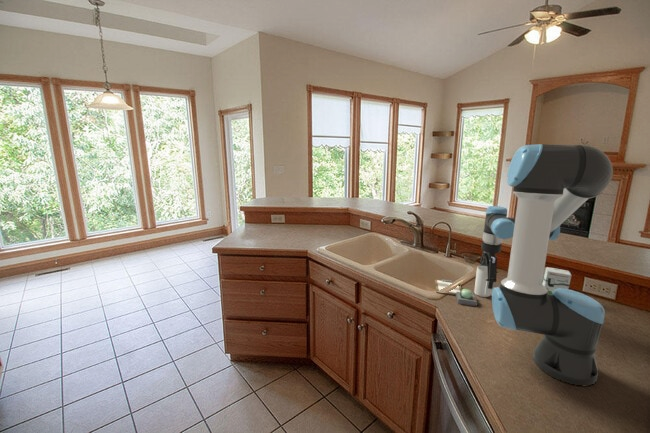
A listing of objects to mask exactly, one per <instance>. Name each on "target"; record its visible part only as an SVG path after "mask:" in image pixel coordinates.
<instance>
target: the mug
mask: <svg viewBox="0 0 650 433" xmlns="http://www.w3.org/2000/svg"><path fill="white" fill-rule="evenodd" d="M475 272H476V273H475V274H476V275H475V282H474V283H475V284H474V290H473V292H474V293H473V294H474V295H477V296H478V297H480V298H481V297H482V298H489V297H490V296H491V295H485V289H486V282H487V281H486V279H488V271H487V266H480V265H478V266H477V267H476V271H475Z"/></svg>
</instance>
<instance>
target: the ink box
mask: <svg viewBox="0 0 650 433" xmlns="http://www.w3.org/2000/svg"><path fill="white" fill-rule="evenodd" d="M571 279H572V274H571V271H569V270H567V269H566V270H565V269H560V268H555V267H548V266H547V267H545V269H544V274H543V281H542V284H543V286H544V287H545V288H546V289H547V291H548V292H547V294H551V295H553V291H554V290H555V289H559V288H564V289H569V288H570V283H571Z"/></svg>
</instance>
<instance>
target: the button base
mask: <svg viewBox="0 0 650 433" xmlns="http://www.w3.org/2000/svg"><path fill="white" fill-rule="evenodd" d="M461 294H462V292H457V291H456V296H455V298H456V303H457V304H458V305H466V306H472V307H477V305H478V300H477V298H476V296H475V295H476V294H475V293H472V299H463V298H462V297H461Z"/></svg>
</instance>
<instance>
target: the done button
mask: <svg viewBox="0 0 650 433" xmlns="http://www.w3.org/2000/svg"><path fill="white" fill-rule="evenodd" d="M472 294H473V291H472V290H470V289H468V288H463V289H462V294H461V297H462V298H463V299H470V300H471V299H472Z"/></svg>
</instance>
